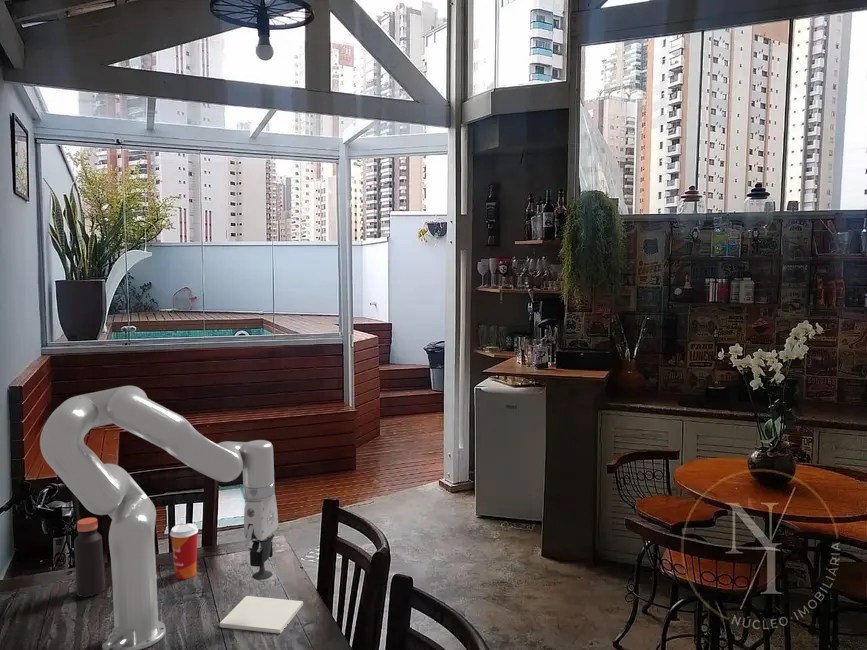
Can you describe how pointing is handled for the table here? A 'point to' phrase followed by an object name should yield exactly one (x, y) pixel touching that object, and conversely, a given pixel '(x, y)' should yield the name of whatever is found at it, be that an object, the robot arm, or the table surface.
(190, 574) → the paper cup
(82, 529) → the bottle
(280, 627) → the board
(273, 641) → the table surface
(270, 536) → the sundae
